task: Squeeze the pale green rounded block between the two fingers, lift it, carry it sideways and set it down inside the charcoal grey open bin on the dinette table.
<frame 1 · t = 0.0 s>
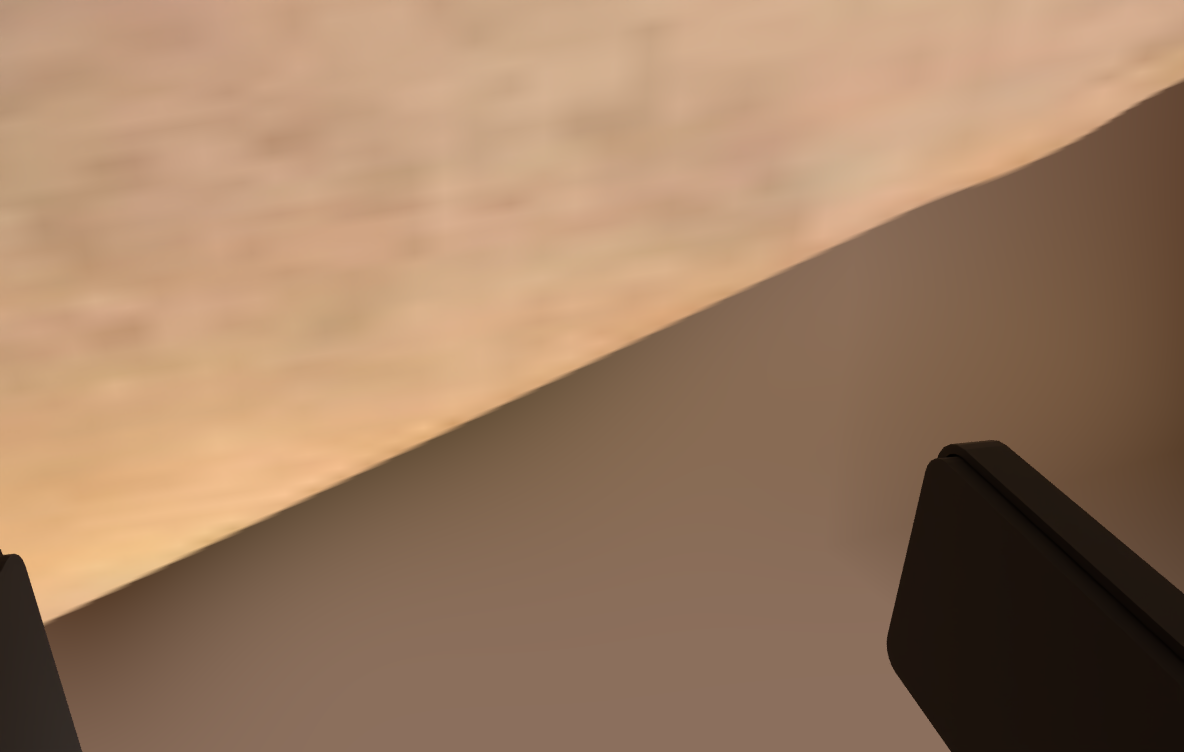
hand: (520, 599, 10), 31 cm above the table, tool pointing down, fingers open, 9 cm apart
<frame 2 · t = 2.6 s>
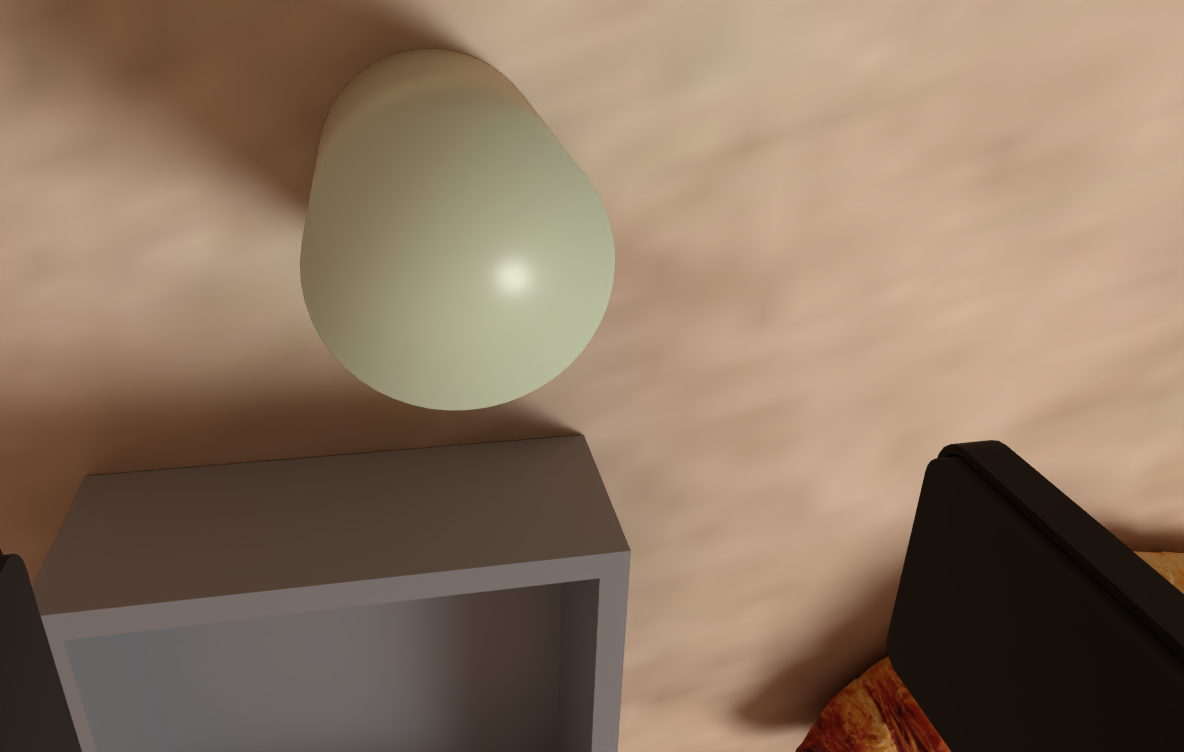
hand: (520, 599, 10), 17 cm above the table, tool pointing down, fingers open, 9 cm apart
pale green rounded block: (435, 166, 25), on the table
croissant: (1006, 640, 39), on the table
bin: (366, 637, 31), on the table
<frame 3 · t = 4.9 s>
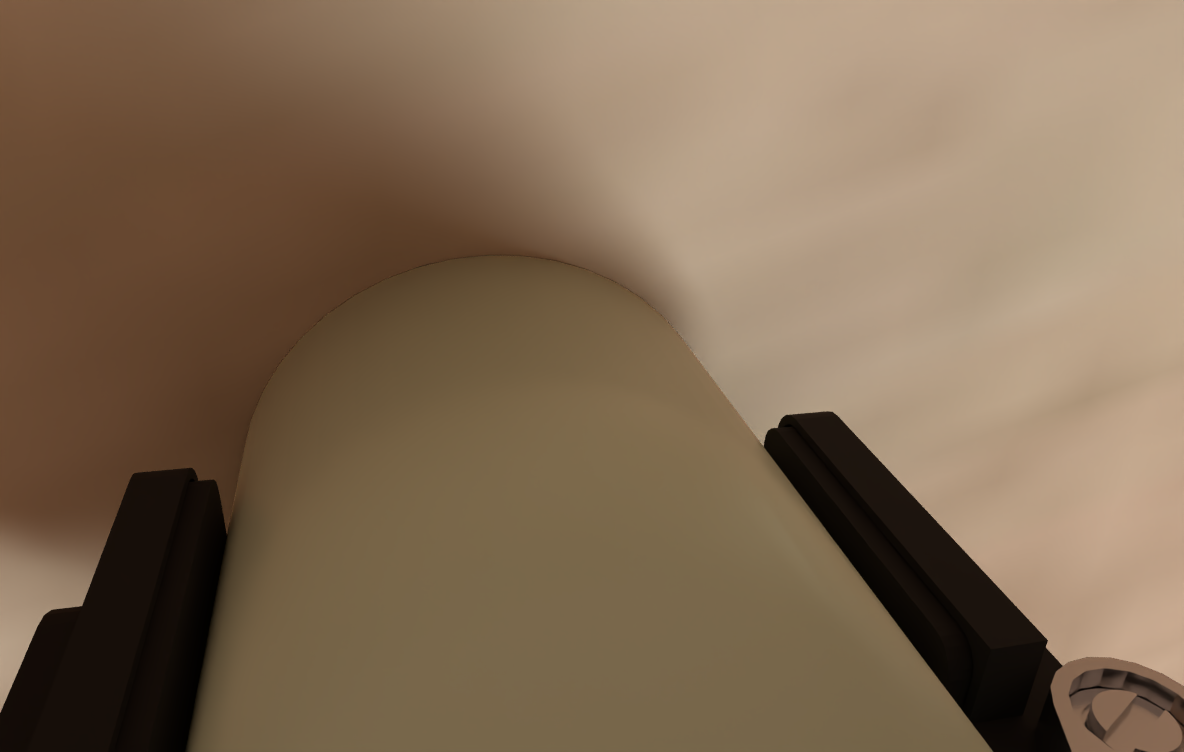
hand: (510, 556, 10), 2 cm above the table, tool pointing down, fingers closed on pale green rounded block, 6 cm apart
pale green rounded block: (491, 478, 12), on the table, touching gripper
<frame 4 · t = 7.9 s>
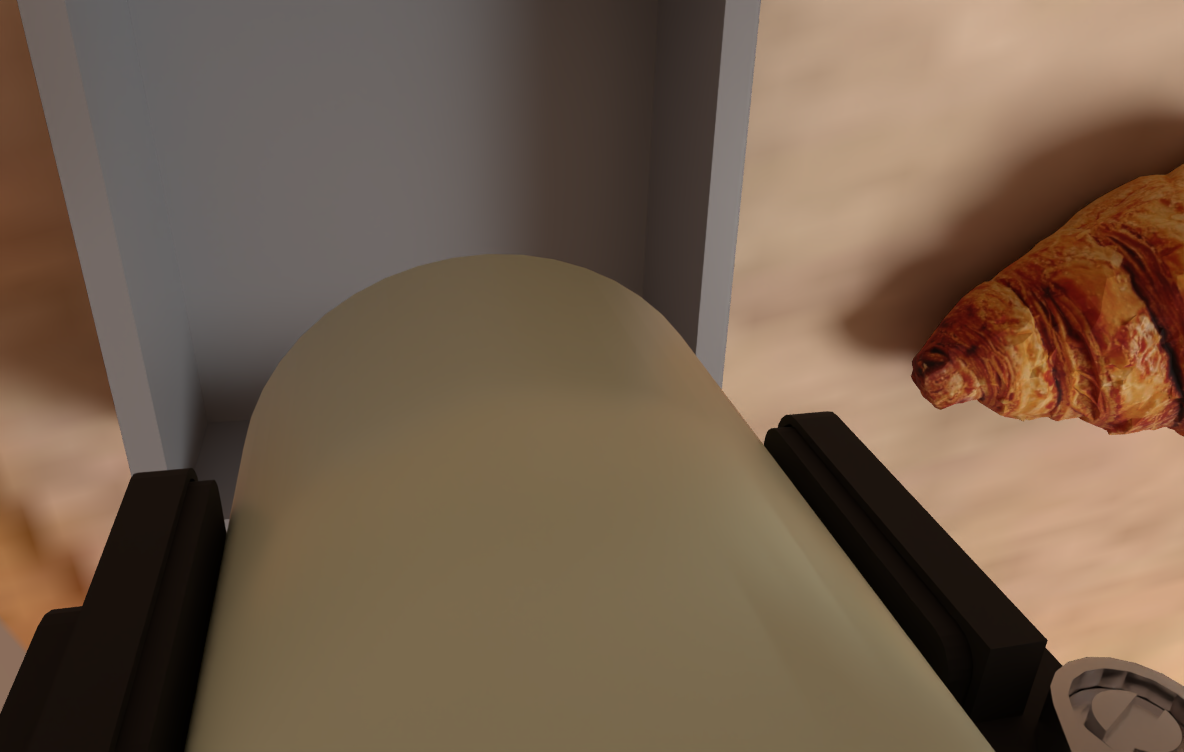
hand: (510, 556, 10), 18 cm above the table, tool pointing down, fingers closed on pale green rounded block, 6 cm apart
pale green rounded block: (491, 478, 12), point 16 cm above the table, touching gripper
croissant: (1144, 275, 34), on the table
bin: (418, 186, 26), on the table
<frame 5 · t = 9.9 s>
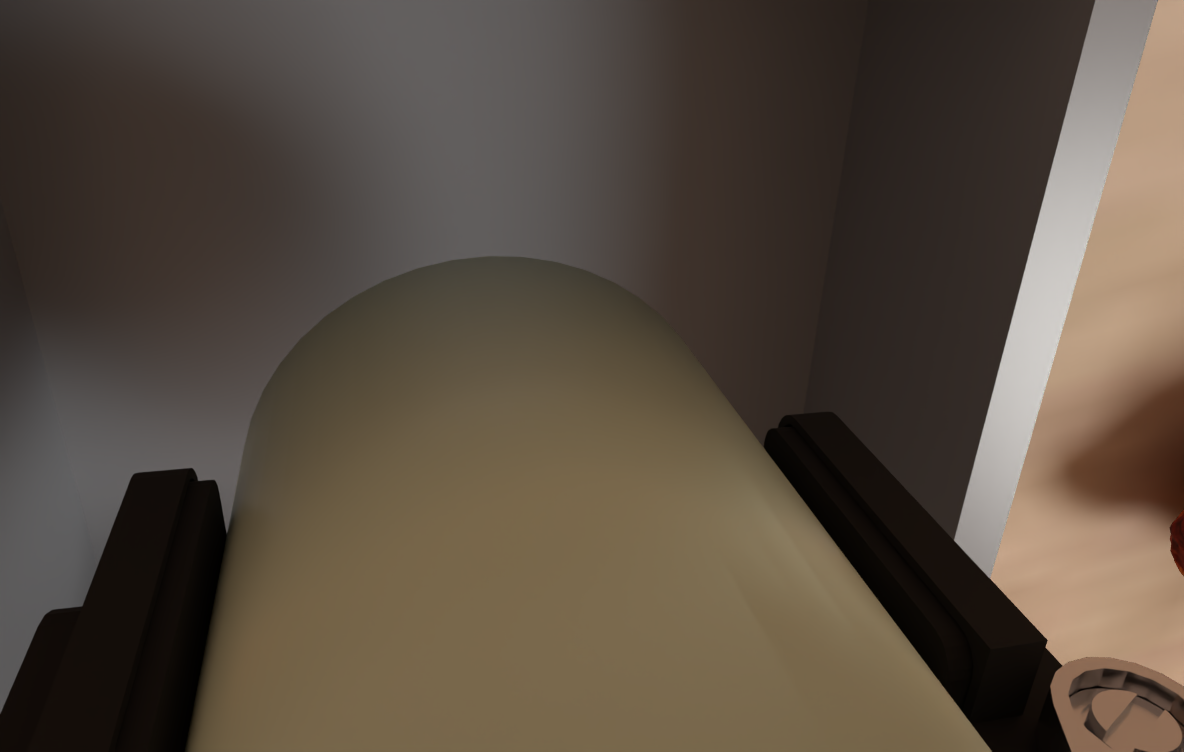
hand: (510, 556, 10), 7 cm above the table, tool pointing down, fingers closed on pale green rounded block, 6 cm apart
pale green rounded block: (491, 479, 12), point 5 cm above the table, touching gripper
bin: (459, 306, 17), on the table
when the fingers open (5 cm above the table, at t = 11.3 s): pale green rounded block drops 2 cm, resting on bin.
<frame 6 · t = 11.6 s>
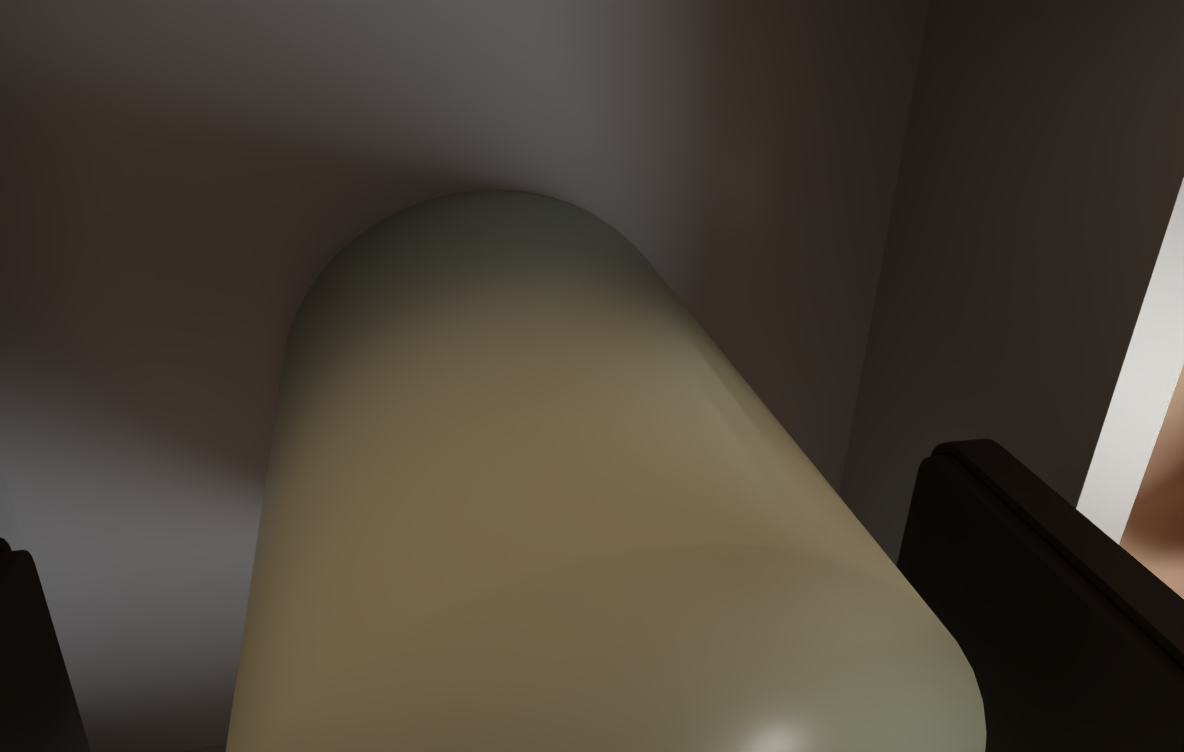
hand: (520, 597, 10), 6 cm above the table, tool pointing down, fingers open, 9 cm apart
pale green rounded block: (491, 385, 14), point 1 cm above the table, touching bin
bin: (463, 361, 15), on the table
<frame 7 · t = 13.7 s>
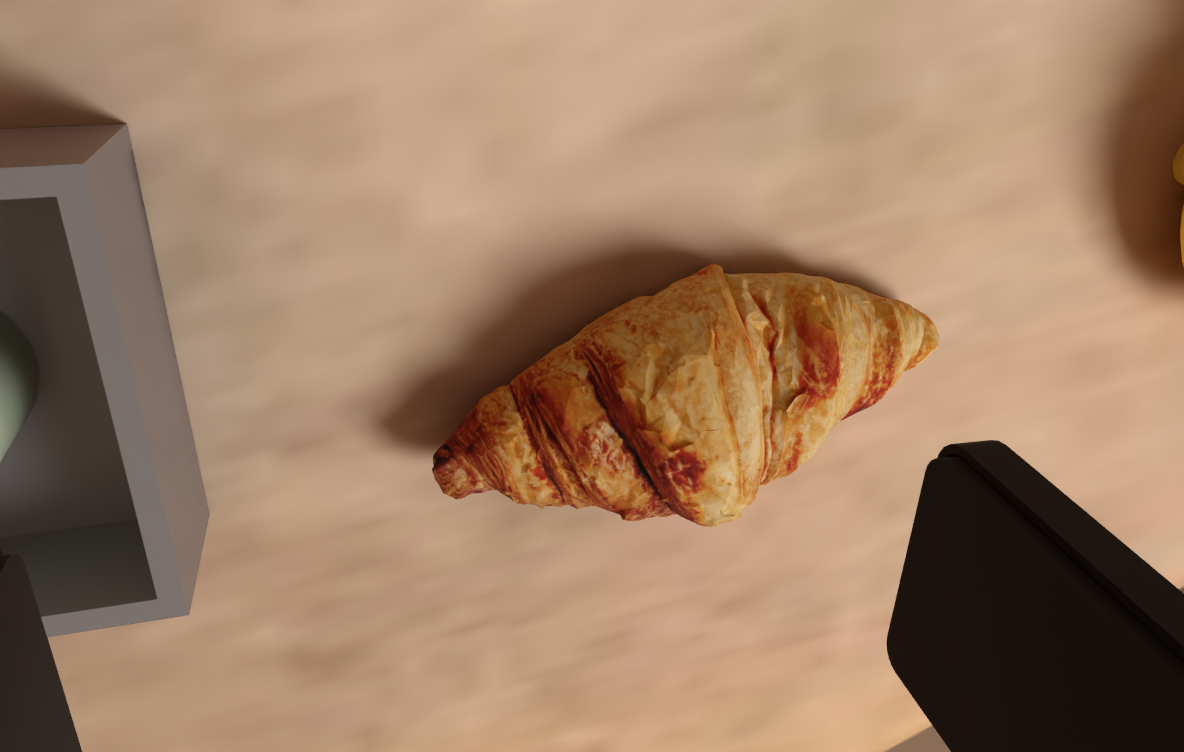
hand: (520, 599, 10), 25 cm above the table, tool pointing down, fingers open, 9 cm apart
croissant: (678, 377, 39), on the table
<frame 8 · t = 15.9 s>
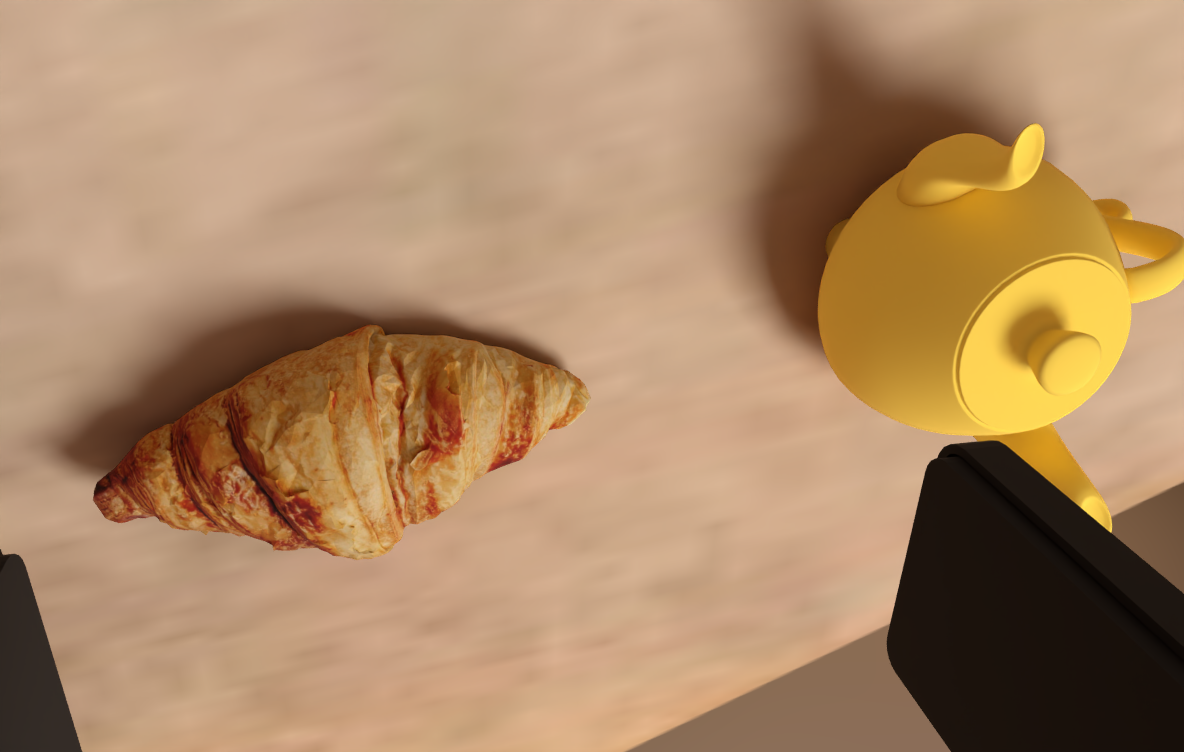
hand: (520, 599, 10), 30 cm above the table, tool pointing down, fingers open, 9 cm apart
teapot: (929, 253, 45), on the table
croissant: (356, 421, 43), on the table
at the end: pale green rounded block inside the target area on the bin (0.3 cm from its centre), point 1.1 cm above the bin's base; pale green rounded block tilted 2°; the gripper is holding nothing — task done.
